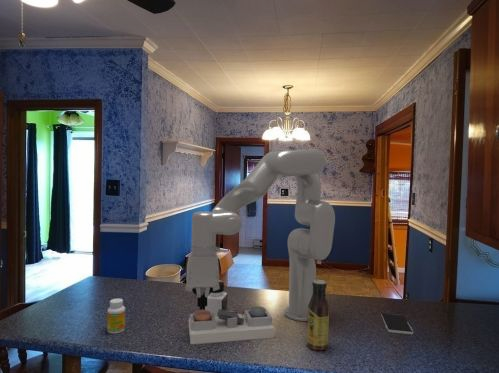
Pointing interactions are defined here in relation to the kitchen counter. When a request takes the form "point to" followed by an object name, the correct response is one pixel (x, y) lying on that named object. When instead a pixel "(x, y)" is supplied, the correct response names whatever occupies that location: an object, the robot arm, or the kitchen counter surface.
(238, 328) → the switch panel
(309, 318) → the sauce bottle
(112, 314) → the supplement bottle
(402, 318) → the smartphone
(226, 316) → the block
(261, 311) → the slate button
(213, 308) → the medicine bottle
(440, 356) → the kitchen counter surface
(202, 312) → the terracotta button
